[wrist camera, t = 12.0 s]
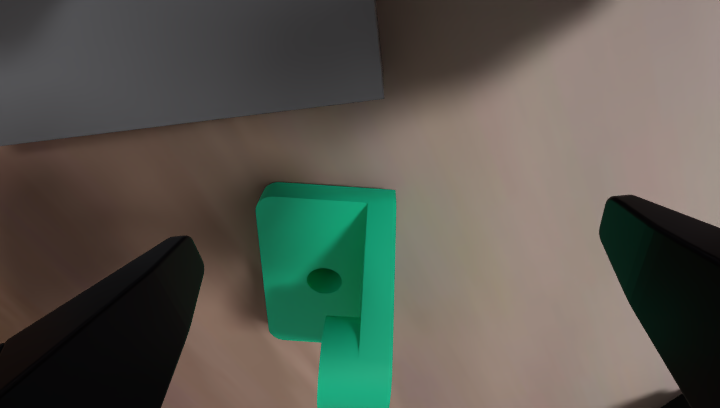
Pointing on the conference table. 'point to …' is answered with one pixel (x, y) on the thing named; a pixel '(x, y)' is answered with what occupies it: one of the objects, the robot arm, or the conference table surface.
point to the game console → (678, 403)
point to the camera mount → (333, 283)
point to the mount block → (178, 62)
